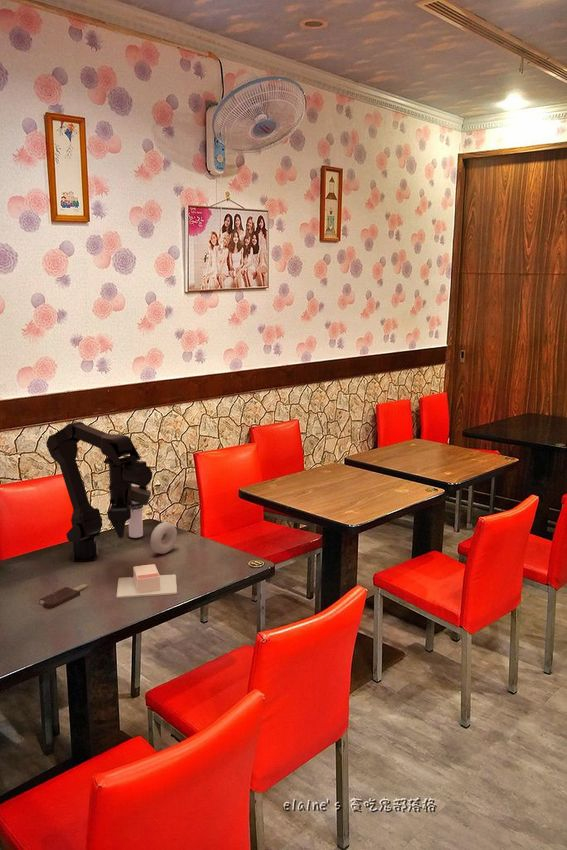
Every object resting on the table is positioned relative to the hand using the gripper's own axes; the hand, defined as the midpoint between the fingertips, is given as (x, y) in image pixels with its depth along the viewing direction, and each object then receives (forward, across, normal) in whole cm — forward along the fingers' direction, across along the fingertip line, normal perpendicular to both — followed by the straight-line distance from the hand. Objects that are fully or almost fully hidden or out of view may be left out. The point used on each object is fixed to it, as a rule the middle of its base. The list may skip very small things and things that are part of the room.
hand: (121, 532), depth 205 cm
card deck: (+12, -12, -7) cm, 18 cm away
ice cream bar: (+13, -15, +14) cm, 24 cm away
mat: (+12, -12, -7) cm, 18 cm away
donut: (+12, +12, -12) cm, 21 cm away
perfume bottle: (+12, +27, -3) cm, 30 cm away
